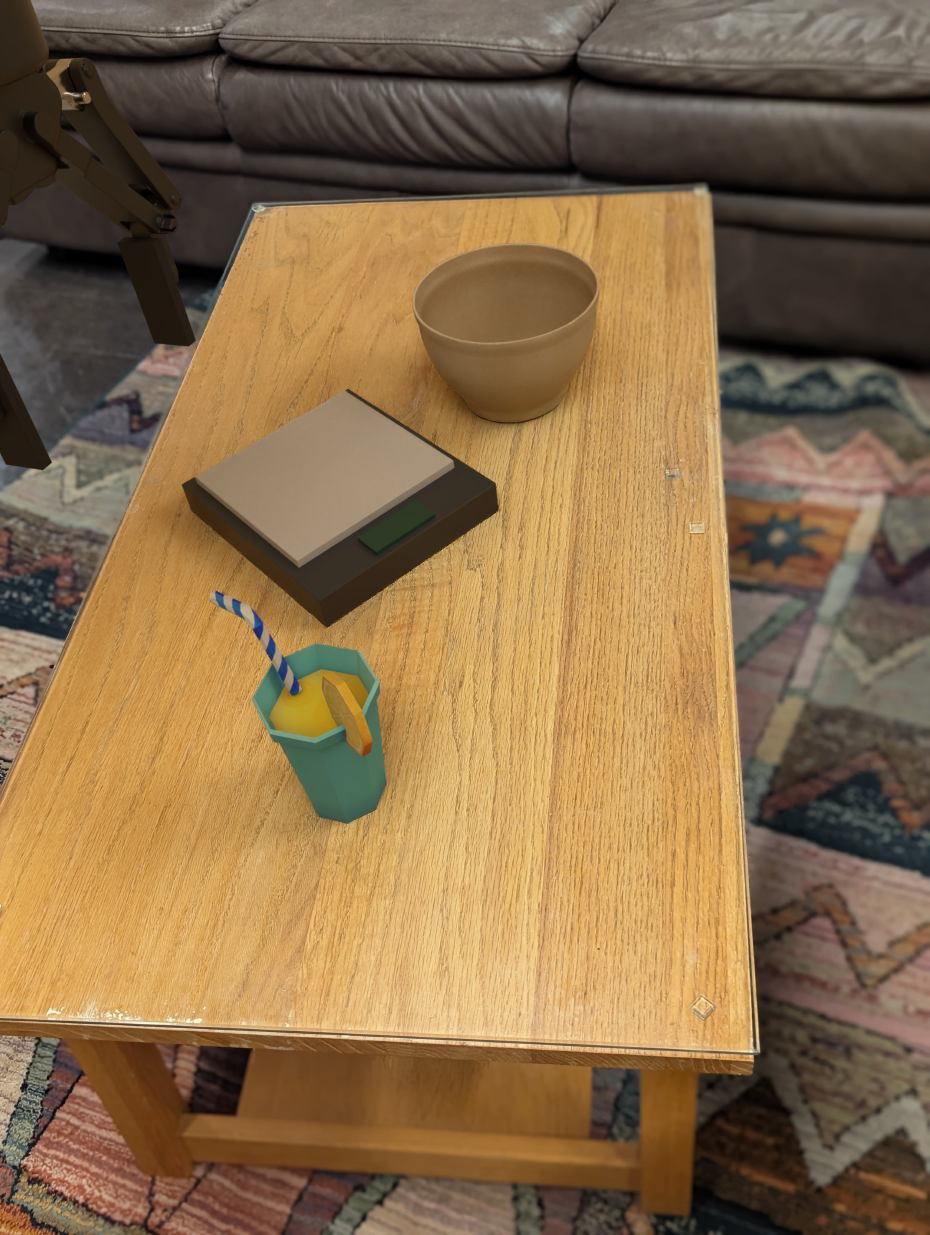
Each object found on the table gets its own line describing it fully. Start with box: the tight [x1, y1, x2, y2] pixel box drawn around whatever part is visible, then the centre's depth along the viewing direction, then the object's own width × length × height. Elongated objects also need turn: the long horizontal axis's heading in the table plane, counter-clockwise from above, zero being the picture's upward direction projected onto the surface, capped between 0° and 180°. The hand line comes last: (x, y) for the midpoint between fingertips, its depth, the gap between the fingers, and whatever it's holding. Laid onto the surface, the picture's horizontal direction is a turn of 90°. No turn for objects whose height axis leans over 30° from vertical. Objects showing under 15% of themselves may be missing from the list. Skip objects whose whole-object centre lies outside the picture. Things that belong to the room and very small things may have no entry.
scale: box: [181, 388, 500, 628], centre depth 90 cm, size 18×20×4 cm
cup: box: [208, 590, 387, 824], centre depth 67 cm, size 14×8×15 cm, turn 50°
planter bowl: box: [411, 242, 600, 423], centre depth 96 cm, size 16×16×11 cm
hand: (107, 399), depth 63 cm, fingers open, 13 cm apart
